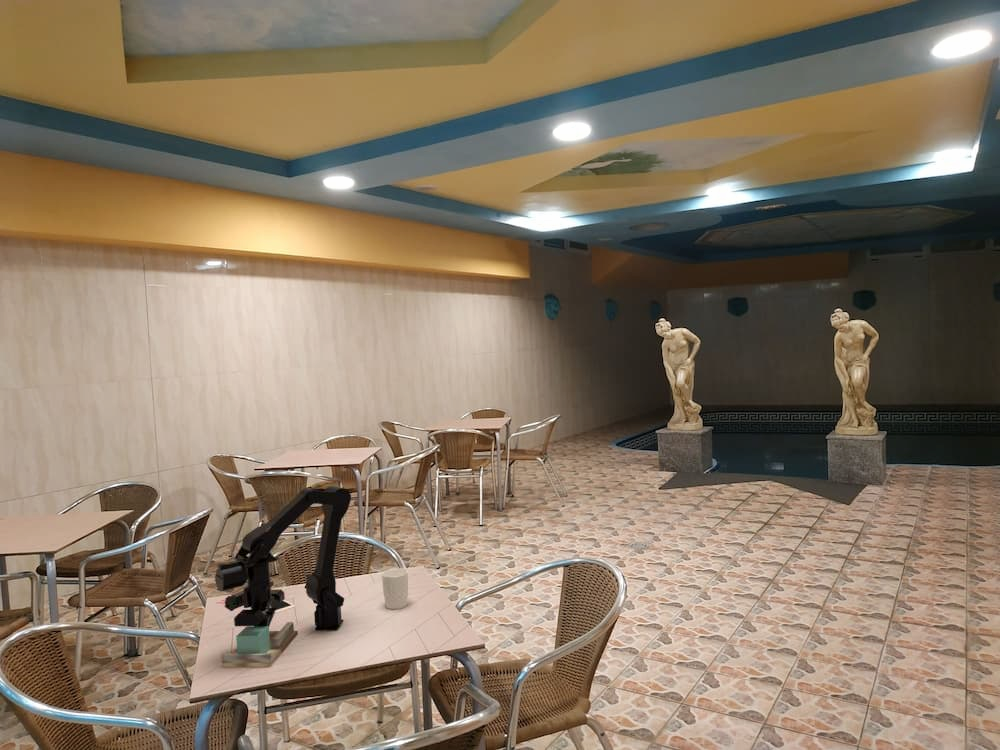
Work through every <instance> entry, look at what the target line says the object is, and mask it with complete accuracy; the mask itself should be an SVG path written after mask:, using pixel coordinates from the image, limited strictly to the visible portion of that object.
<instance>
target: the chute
mask: <svg viewBox="0 0 1000 750" xmlns="http://www.w3.org/2000/svg"><path fill="white" fill-rule="evenodd" d="M294 626H295V625H294V622H293V621H289V622H288V621H287V622H286V623H285V624H284V625H283V627H282V628H280V630H269V637H270V650H269V651H268V652H267V653H258V654H237V648H235V650H234V651H233V652H232V653H222V655H221V667H222V668H253V667H254V668H256V667H257V668H258V667H259V668H260V667H261V668H262V667H263V668H266V667H268V668H269V667H270V668H271V667H272V666H273V665H274V663H275V662H276V661H277V660H278V658H279V657H281V655H282V654H283V653H284V651H285V650H286V649H287V648H288V647H289V645H290V644H291V643H292V642H293V641H294V639H295V638H296V637H297V636H298V635H299V630H295V629H294Z"/></svg>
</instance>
